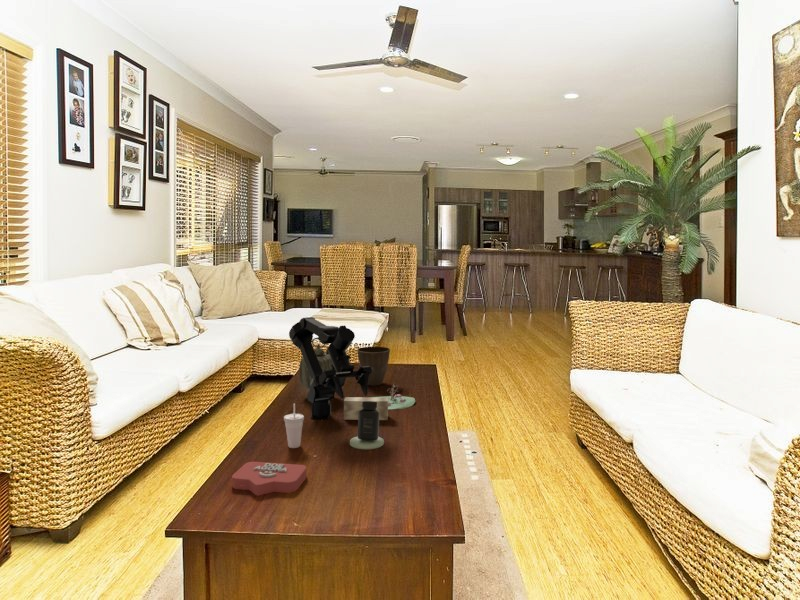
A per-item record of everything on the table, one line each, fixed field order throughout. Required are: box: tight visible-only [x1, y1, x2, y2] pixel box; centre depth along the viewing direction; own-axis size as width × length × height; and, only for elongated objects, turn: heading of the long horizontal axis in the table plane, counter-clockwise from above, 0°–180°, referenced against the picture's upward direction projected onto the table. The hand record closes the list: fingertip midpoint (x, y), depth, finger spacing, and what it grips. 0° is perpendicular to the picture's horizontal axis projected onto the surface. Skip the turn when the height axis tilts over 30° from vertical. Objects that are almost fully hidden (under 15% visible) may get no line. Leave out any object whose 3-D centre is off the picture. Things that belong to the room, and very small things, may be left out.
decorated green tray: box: [371, 381, 416, 411], centre depth 234 cm, size 25×21×9 cm
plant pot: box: [356, 346, 391, 387], centre depth 263 cm, size 15×15×16 cm
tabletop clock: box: [299, 337, 332, 390], centre depth 240 cm, size 14×9×25 cm, turn 58°
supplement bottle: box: [356, 401, 380, 440], centre depth 187 cm, size 7×7×12 cm
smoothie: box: [283, 403, 305, 449], centre depth 183 cm, size 6×6×14 cm
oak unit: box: [343, 396, 389, 421], centre depth 213 cm, size 16×5×7 cm, turn 90°
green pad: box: [349, 436, 385, 450], centre depth 187 cm, size 11×11×1 cm
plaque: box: [231, 461, 307, 496], centre depth 155 cm, size 18×4×15 cm
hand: (354, 396), depth 192 cm, fingers open, 9 cm apart
